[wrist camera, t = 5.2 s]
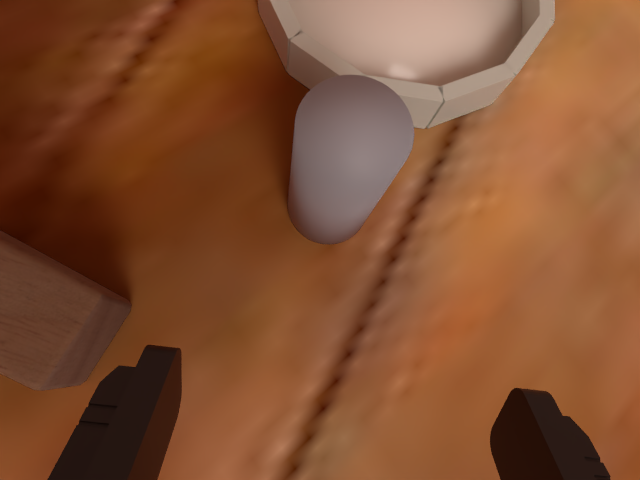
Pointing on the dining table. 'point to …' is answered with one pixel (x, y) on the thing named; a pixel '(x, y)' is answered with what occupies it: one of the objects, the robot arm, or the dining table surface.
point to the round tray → (411, 46)
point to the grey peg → (345, 155)
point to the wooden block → (51, 319)
